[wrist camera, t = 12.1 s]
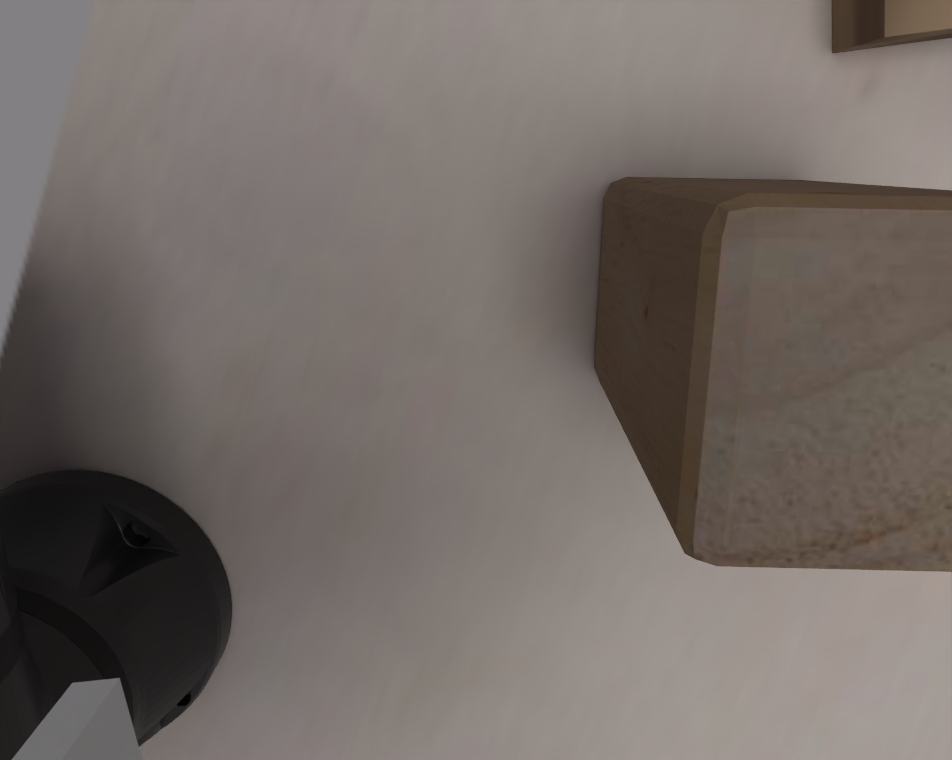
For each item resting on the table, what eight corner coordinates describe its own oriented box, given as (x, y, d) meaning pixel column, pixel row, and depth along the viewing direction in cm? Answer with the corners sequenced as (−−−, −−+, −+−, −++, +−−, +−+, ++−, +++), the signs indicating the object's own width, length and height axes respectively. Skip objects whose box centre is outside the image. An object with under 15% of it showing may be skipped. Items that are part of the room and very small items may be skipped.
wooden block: (602, 176, 38) (717, 194, 19) (816, 180, 38) (1150, 202, 19) (590, 381, 41) (681, 580, 22) (791, 385, 41) (1061, 589, 22)
